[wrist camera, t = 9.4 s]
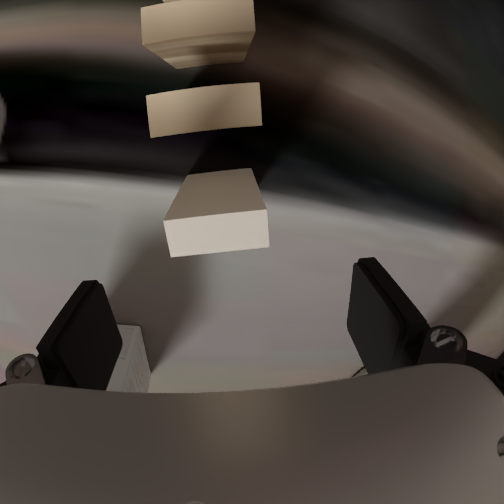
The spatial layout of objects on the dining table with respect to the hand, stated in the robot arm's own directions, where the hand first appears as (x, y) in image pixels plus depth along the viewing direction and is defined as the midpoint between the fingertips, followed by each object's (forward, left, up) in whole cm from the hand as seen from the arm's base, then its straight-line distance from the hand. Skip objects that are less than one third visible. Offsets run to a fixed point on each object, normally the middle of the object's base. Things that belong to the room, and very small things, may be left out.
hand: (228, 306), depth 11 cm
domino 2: (0, -7, -15) cm, 16 cm away
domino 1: (0, -11, -15) cm, 19 cm away
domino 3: (0, -1, -15) cm, 15 cm away
